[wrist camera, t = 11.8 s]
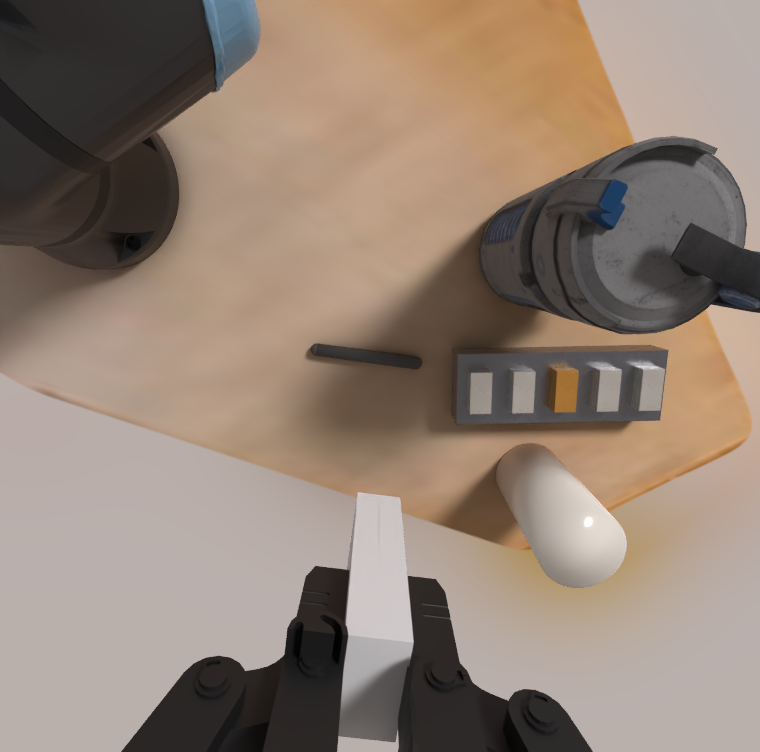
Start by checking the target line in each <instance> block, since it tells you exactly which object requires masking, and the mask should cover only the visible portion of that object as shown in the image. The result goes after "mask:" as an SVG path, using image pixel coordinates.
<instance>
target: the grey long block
mask: <svg viewBox="0 0 760 752" xmlns="http://www.w3.org/2000/svg"><path fill="white" fill-rule="evenodd" d="M667 356H668V350H666V349H662V348H659V347H655V346H652V345H623V346H573V347H522V348H472V349H453V374H452V416H453V418H454V420H455V422H456V424H500V423H552V422H604V421H656V420H660V416H661V407H662V399H663V390H664V382H665V373H666V365H667Z"/></svg>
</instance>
